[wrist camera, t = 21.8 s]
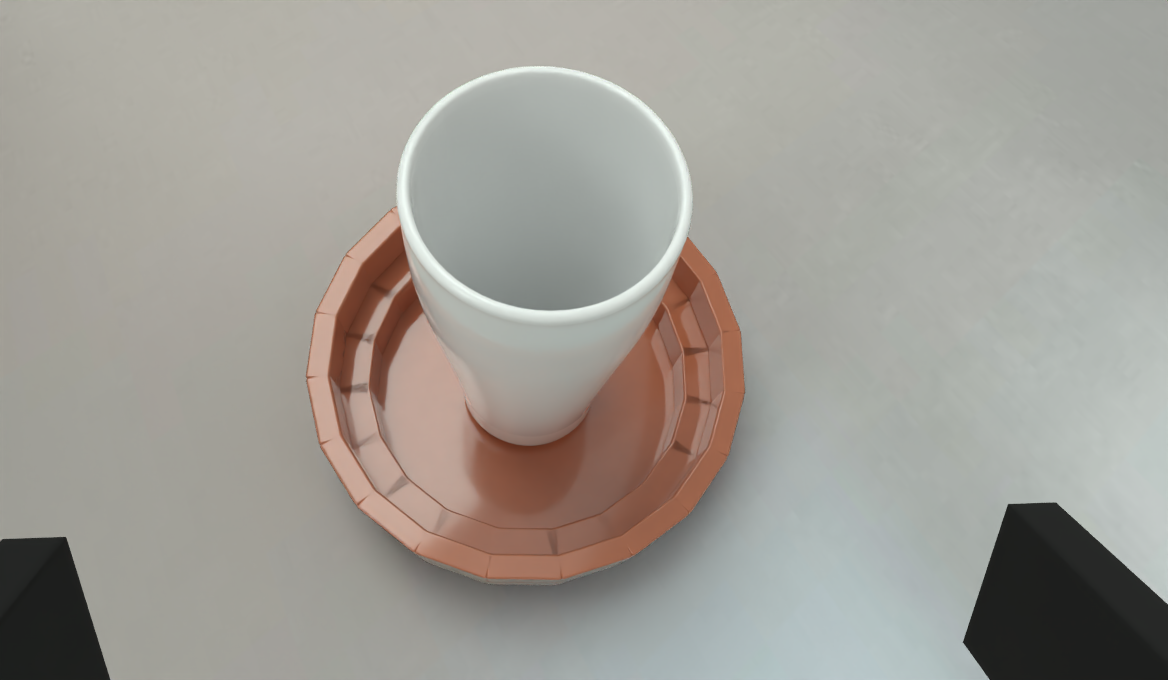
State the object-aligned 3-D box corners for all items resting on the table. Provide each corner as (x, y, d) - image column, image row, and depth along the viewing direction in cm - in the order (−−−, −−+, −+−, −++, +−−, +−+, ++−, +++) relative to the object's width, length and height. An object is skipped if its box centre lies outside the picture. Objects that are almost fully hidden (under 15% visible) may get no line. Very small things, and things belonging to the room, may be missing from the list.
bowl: (381, 642, 27) (358, 646, 23) (303, 269, 32) (272, 216, 28) (767, 516, 30) (809, 499, 26) (643, 192, 35) (661, 133, 31)
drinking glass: (438, 315, 31) (383, 66, 17) (599, 301, 32) (669, 53, 18) (451, 477, 29) (399, 341, 15) (623, 457, 30) (726, 310, 16)
